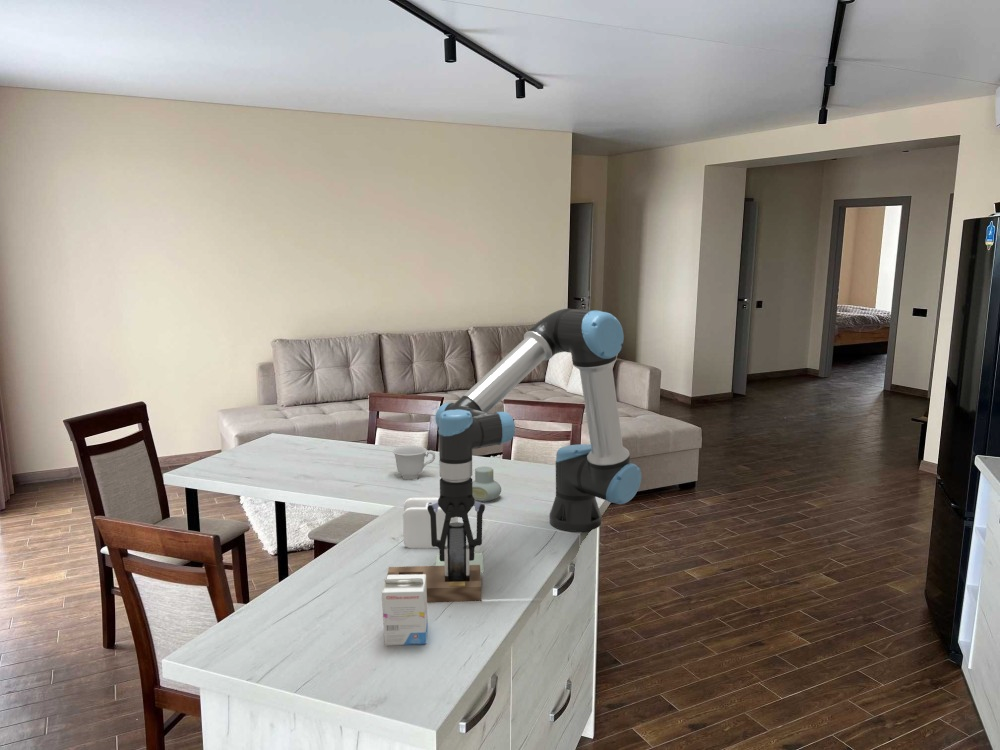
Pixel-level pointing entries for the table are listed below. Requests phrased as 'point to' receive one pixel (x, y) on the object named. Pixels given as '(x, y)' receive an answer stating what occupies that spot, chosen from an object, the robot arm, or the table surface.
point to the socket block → (445, 583)
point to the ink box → (405, 609)
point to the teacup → (411, 460)
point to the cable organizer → (421, 523)
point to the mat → (477, 561)
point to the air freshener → (485, 485)
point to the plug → (456, 552)
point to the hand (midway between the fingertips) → (457, 573)
